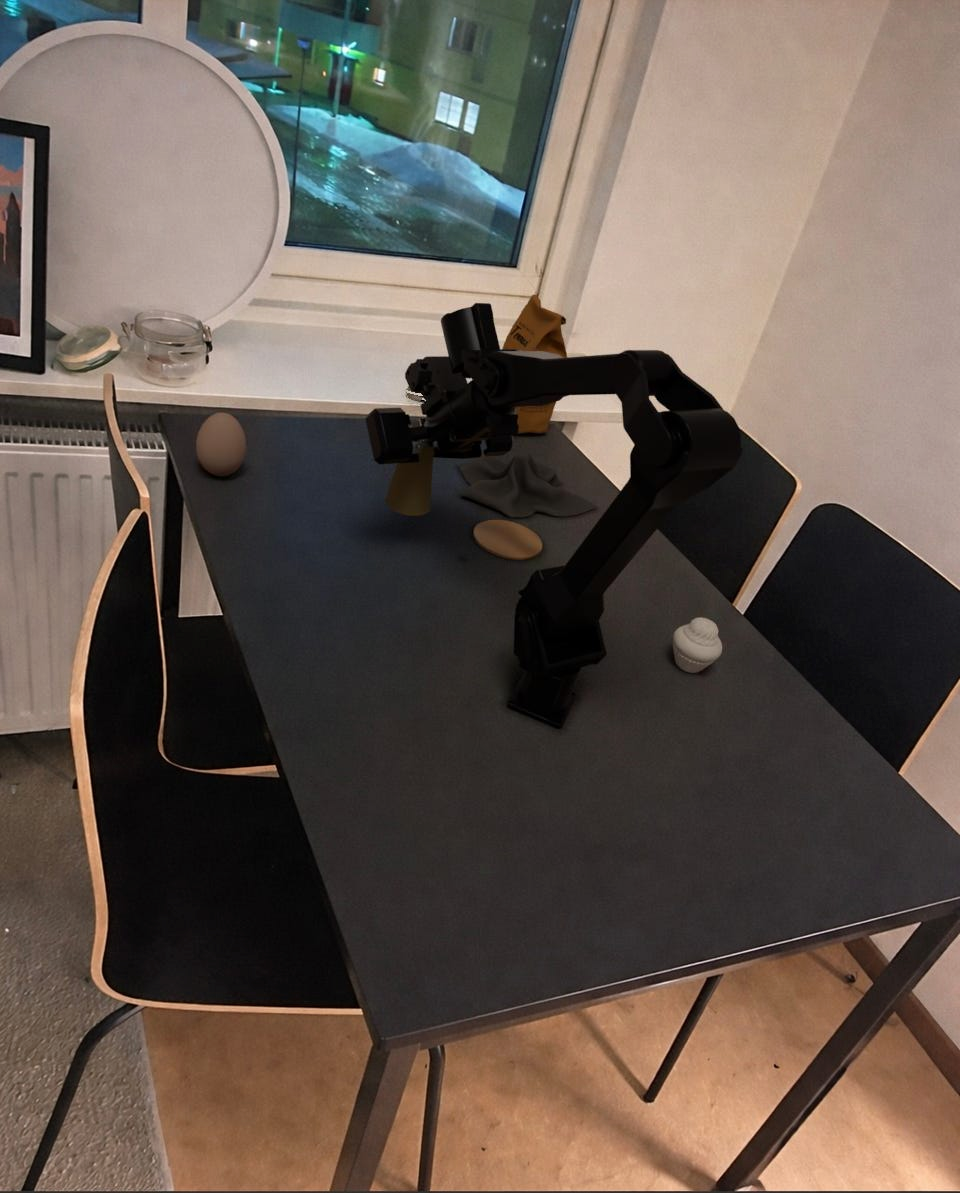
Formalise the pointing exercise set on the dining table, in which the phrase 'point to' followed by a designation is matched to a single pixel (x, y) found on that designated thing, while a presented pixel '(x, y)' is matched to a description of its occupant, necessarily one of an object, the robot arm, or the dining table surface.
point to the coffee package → (536, 334)
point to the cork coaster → (507, 539)
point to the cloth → (519, 487)
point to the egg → (221, 444)
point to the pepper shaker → (412, 485)
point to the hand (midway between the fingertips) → (411, 454)
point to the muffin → (696, 645)
